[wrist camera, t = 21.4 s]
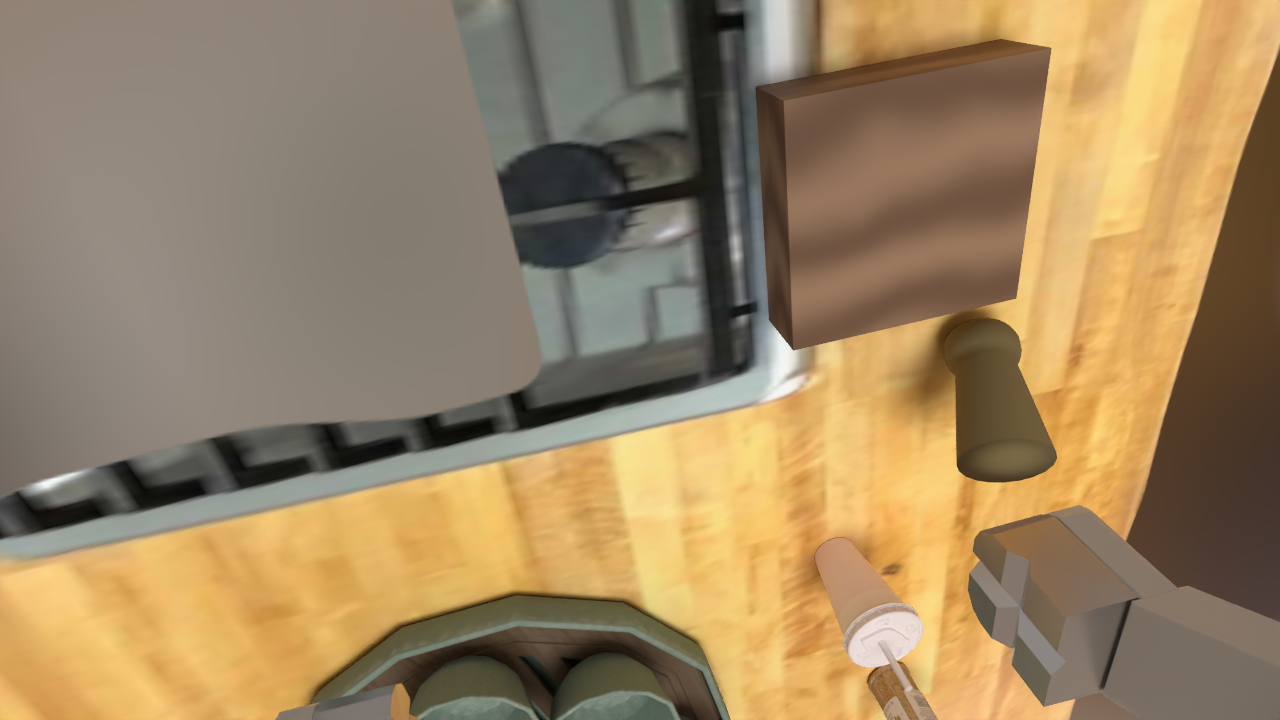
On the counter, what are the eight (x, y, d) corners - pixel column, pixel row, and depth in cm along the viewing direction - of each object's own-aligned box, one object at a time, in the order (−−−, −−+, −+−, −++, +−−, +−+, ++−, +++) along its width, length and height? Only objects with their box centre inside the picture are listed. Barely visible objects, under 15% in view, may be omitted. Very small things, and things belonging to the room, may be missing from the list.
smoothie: (817, 522, 63) (898, 657, 51) (879, 529, 65) (971, 660, 53) (789, 577, 65) (860, 717, 54) (849, 581, 67) (931, 717, 56)
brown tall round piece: (1034, 485, 50) (1004, 358, 57) (1073, 442, 46) (1035, 308, 52) (944, 478, 51) (925, 353, 57) (974, 435, 46) (948, 303, 52)
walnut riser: (753, 85, 44) (783, 100, 40) (997, 38, 45) (1051, 47, 41) (767, 317, 52) (793, 350, 48) (972, 270, 54) (1016, 298, 49)
